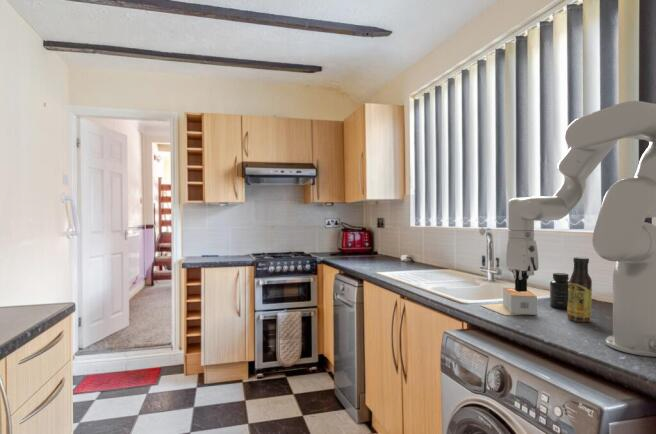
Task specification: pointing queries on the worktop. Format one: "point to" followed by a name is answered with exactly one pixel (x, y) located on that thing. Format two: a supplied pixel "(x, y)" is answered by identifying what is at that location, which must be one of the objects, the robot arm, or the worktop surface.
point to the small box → (519, 301)
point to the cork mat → (499, 309)
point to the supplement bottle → (559, 291)
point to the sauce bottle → (580, 292)
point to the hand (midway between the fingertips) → (520, 291)
